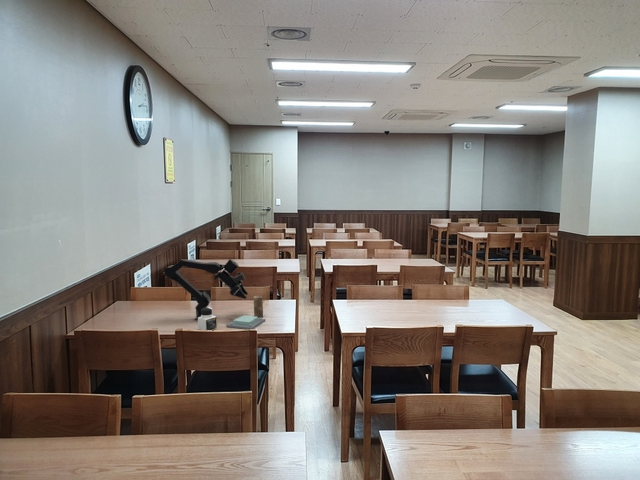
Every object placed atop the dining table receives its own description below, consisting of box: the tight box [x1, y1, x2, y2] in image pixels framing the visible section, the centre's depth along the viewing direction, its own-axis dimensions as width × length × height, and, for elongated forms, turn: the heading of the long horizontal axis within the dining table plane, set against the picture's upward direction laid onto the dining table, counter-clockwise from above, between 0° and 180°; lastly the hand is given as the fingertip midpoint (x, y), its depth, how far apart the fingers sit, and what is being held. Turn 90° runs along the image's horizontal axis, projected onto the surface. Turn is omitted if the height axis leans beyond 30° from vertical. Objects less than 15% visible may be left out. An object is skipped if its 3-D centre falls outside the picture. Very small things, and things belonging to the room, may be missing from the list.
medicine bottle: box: [197, 306, 218, 331], centre depth 240 cm, size 7×7×12 cm
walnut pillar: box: [253, 295, 264, 319], centre depth 262 cm, size 5×5×12 cm
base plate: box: [225, 314, 266, 330], centre depth 248 cm, size 16×16×3 cm
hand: (246, 296), depth 260 cm, fingers open, 9 cm apart
